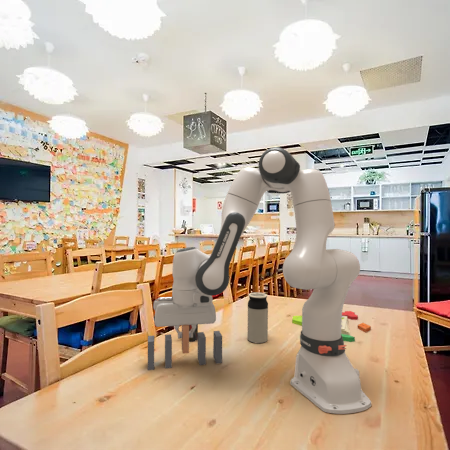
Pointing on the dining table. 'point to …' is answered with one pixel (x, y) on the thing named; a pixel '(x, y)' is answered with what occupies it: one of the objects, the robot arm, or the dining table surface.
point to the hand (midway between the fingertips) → (185, 337)
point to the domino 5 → (217, 347)
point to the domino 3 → (185, 339)
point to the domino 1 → (150, 352)
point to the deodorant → (194, 334)
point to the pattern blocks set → (344, 325)
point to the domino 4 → (201, 348)
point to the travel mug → (257, 318)
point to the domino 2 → (168, 351)
